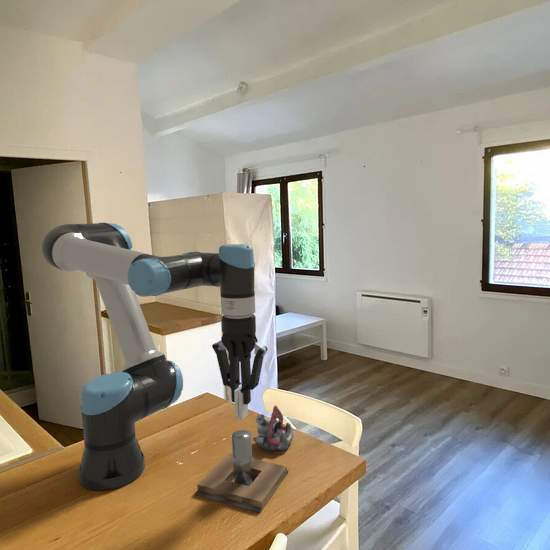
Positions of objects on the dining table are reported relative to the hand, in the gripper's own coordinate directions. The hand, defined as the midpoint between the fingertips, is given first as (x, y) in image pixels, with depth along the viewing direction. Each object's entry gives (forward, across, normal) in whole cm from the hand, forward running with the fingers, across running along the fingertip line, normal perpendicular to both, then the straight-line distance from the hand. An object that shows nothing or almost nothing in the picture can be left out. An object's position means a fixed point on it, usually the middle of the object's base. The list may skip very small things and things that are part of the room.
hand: (241, 416), depth 98 cm
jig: (+16, 0, 0) cm, 16 cm away
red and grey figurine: (+17, -1, +19) cm, 25 cm away
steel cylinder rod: (+16, 0, 0) cm, 16 cm away
